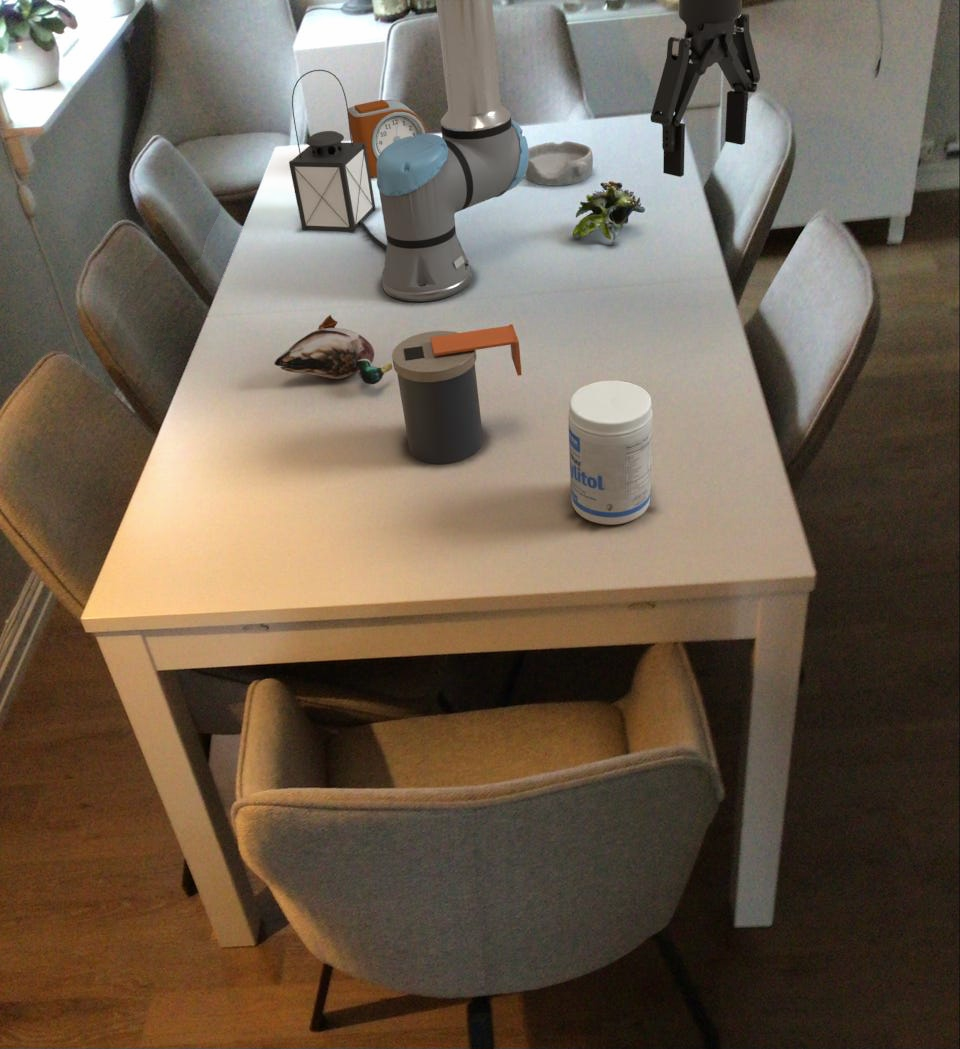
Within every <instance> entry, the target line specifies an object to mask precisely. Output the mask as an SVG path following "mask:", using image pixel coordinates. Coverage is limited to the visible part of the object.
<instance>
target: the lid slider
mask: <svg viewBox="0 0 960 1049" xmlns="http://www.w3.org/2000/svg"><path fill="white" fill-rule="evenodd" d="M430 338H431V343H432V348H433V353H434V356H438V355H445V354H451V353H458V352H465V351H471V350H476V351H478V350H484V349H490V348H497V347H504V346H510V353H511V354H510V355H511V359H512V360H511V361H512V362H513V366H514V369H515V371H516V375H517V376H522V375H523V374H522V362H521V351H520V340H519V338H518V336H517V333H516V330H515V327H514V324H513V323H509V324H508V325H503V326H497V327H491V328H489V327H488V328H483V329H476V330H469V331H462V332H457V333H456V334H449V335H442V336H435V337H430Z"/></svg>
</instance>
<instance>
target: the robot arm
mask: <svg viewBox="0 0 960 1049" xmlns="http://www.w3.org/2000/svg"><path fill="white" fill-rule="evenodd" d="M435 3H436V12H437V19H438V20H437V21H438V22H437V23H438V30H439V38H440V48H441V56H442V65H443V74H444V75H443V76H444V82H445V92H446V100H447V107H448V108H447V111H446V112H445V113H444V115H443V116H442V118H441V119H440V130H441V136H440V135H438V134H434V133H427V134H418V135H416V136H414V137H412V136H408V137H405V138H402V139H400V140H397V141H395V142H393V143H392V144H390V145H388V146H387V147H386V148H385V149H384V150H383V151H382V152H381V153H380V155H379V157H378V160H377V163H376V168H377V177H376V186H377V190H378V192H379V198H380V199H379V200H380V204H381V211H382V212H381V213H382V218H383V225H384V229H385V237H386V244H385V243H384V242H382V241H381V240H380V239H378V238H377V237H375V236H374V235H373V233H372V232H371V231H370V230H369V228H368V227H367V226H366V224H365V223H364V222H362V221H361V220H360V221H359V224H360V226H359V227H361V229H363V231H364V233H366V235H367V237H369V238H370V239H371V240H372V242H374V243H375V244H376V245H378V246H380V247H381V248H383V250H385V256H384V257H385V258H384V264H383V270H382V272H381V273H382V274H381V281H382V287H383V291H384V292H385V293H386V294H387V295H388V296H389V297H391V298H393V299H396V300H400V301H405V302H429V301H436V300H441V299H445V298H448V297H451V296H454V295H456V294H458V293H460V292H461V291H463V290H465V289H466V288H467V287H468V286H469V285H470V283H471V281H472V279H473V276H472V275H473V274H472V267H471V263H470V261H469V259H468V257H467V255H466V253H465V250H464V248H463V246H462V244H461V242H460V240H459V237H458V235H457V230H456V229H457V228H456V219H455V214H456V213H459V212H461V211H463V210H466V209H468V208H472V207H473V206H476V205H479V204H481V203H483V202H486V201H488V200H491V199H493V198H494V199H495V198H498V197H501V196H504V194H506V193H507V192H508V191H511V190H512V189H515V188H516V187H518V185H520V183H521V182H522V181H523V180H524V177H526V174H525V173H526V171H527V167H528V160H529V151H528V149H529V145H528V141H527V138H526V136H525V135H523V129H522V127H521V126H520V125H519V124H518V122H516V121H515V120H514V119H512V113H511V111H509V110H508V109H507V107H505V106H504V105H502V103H501V93H500V92H501V90H500V81H499V68H498V56H497V44H496V33H495V32H496V31H495V21H494V9H493V0H435ZM742 8H743V0H678V17H679V19H680V20H681V21H683V23H684V24H685V32H684V36H682V37H677V36H676V37H675V36H670V37H669V38H668V39H667V48H666V59H665V62H664V66H663V70H662V73H661V77H660V80H659V85H658V88H657V92H656V96H655V100H654V104H653V107H652V111H651V114H650V122H651V123H653V124H659V125H661V126H662V134H661V136H662V137H661V138H662V140H661V142H662V144H661V148H662V151H663V164H662V165H663V172H662V173H663V174H666V175H671V176H675V177H679V178H681V177H684V175H685V144H686V143H685V141H686V123H683V122H682V120H683V117H684V115H685V112H686V110H687V109H688V106H689V104H690V101H691V98H692V96H693V94H694V92H695V89H696V87H697V84H698V82H699V80H700V78H701V76H702V75H705V74H706V72H707V70H708V68H710V67H712V66H713V65H714V64H718V67H719V68H720V70H721V71H722V73H723V75H724V77H725V79H726V81H727V82H728V84H729V87H730V88H731V90H729V91H727V92H726V112H725V130H724V132H725V133H724V143H725V142H726V143H731V144H735V145H741V146H742V145H745V143H746V131H747V118H748V106H749V105H748V104H749V93H756V91H757V89H758V83H759V82H760V79H761V73H760V69H759V65H758V61H757V57H756V52H755V49H754V44H753V40H752V36H751V32H750V14H748V13H742V10H743V9H742ZM690 61H691V62H690Z"/></svg>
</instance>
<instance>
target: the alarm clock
mask: <svg viewBox="0 0 960 1049" xmlns="http://www.w3.org/2000/svg"><path fill="white" fill-rule="evenodd" d="M348 113H349V121H350V130H351V138H352V143H361V142H363V143H365V144H366V151H367V157H368V164H369V170H370V176H371V179H373V178H377V168H376V163H377V160H378V157H379V155H380V153H381V152H382V151H383V150H384V149H385V148H386V147H387V146H388V145H390V144H392V143H393V142H395V141H397V140H400V139H402V138H405V137H408V136H412V137H414V136H416V135H418V134H428V131H427V126H426V125H425V123H424V122H423V120H422V118H420V116H418V114H416V113H415V112H414V111H413V110H412V109H411V108H409V107H408V106H407V105H406V104H404V103H402V102H400V101H399V100H394V99H379V100H374V101H370V102H364V103H360V104H355V105H354V106H353V105H352V106H350V107H348ZM348 113H347V114H348Z"/></svg>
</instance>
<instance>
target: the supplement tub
mask: <svg viewBox="0 0 960 1049" xmlns="http://www.w3.org/2000/svg"><path fill="white" fill-rule="evenodd" d="M652 443H653V407H652V398H651V396H650V394H649V393H648V392H647V391H646V389H644V388H642V387H641V386H639V385H637V384H634V383H632V382H627V381H622V380H600V381H596V382H592V383H589V384H587V385H584V386H582V387H580V388H579V389H577V390H576V391H575V392H574V393H573V394H572V395H571V397H570V400H569V410H568V450H569V477H570V478H569V479H570V500H571V504H572V507H573V510H575V511H576V513H577V514H578V515H579V516H580V517H582V518H584V519H585V520H587V521H589V522H592V523H595V524H601V525H612V526H615V525H622V524H626V523H629V522H631V521H635V520H636V519H638V518H639V517H641V516H642V515H643V514H644V513H645V512H646V511H647V510H648V508H649V505H650V504H651V488H652V487H651V484H652V453H653V452H652V450H653V448H652V447H653V444H652Z"/></svg>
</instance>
